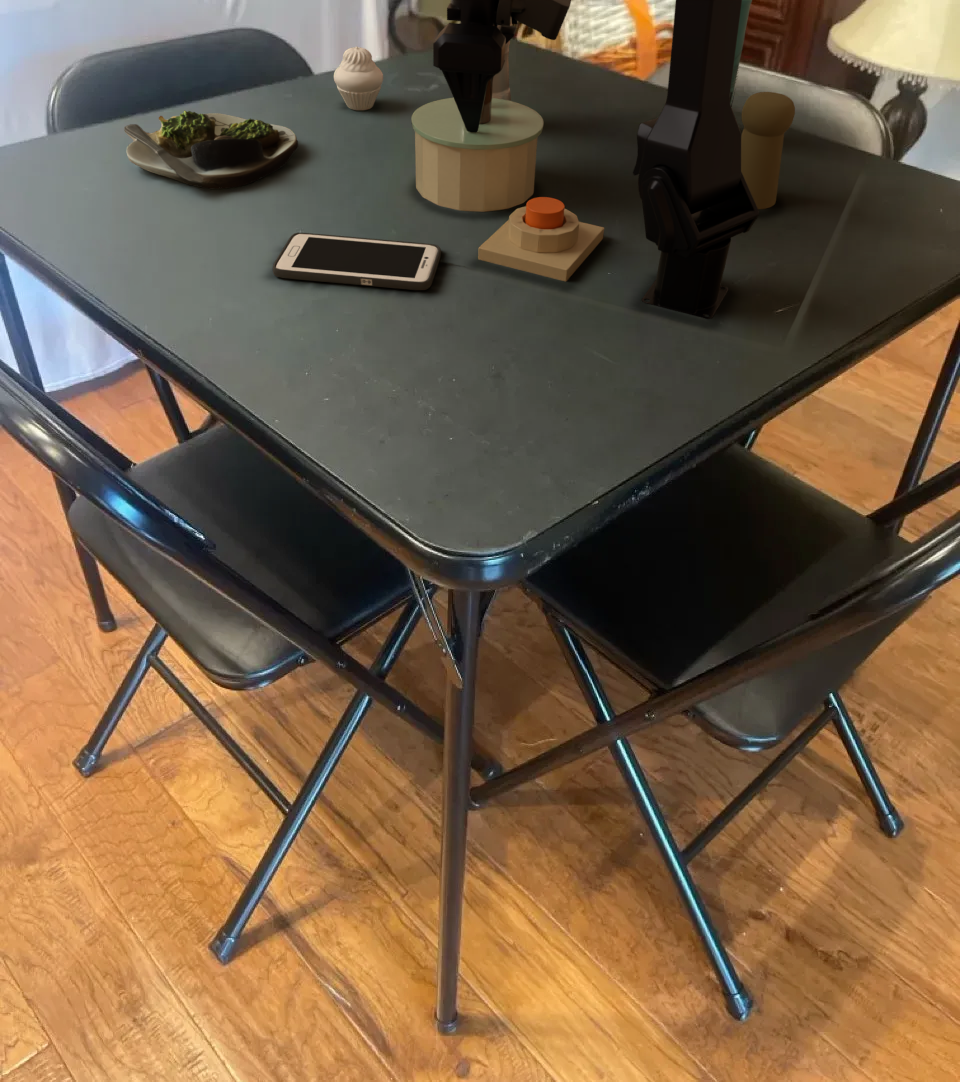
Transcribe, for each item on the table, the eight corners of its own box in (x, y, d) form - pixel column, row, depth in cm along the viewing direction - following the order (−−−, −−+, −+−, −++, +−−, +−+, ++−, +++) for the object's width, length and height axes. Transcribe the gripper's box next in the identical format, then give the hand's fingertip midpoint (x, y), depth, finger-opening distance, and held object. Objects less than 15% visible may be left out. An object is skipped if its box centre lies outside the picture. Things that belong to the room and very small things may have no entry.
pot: (503, 226, 94) (507, 156, 89) (395, 200, 97) (393, 132, 93) (550, 182, 102) (556, 116, 97) (449, 159, 106) (450, 95, 101)
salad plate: (78, 166, 101) (66, 122, 98) (185, 116, 113) (177, 76, 109) (220, 205, 95) (212, 160, 92) (317, 148, 107) (314, 106, 104)
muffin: (335, 97, 119) (331, 38, 114) (383, 97, 120) (381, 38, 115) (335, 115, 115) (331, 54, 110) (385, 114, 115) (382, 54, 110)
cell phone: (293, 240, 90) (292, 231, 89) (442, 254, 89) (442, 244, 88) (270, 278, 84) (269, 268, 83) (429, 293, 83) (429, 283, 82)
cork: (776, 217, 97) (804, 108, 90) (718, 210, 98) (741, 102, 90) (774, 194, 102) (801, 88, 94) (719, 188, 102) (741, 82, 95)
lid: (510, 166, 89) (513, 105, 85) (387, 139, 93) (385, 79, 89) (562, 121, 98) (567, 65, 94) (448, 99, 102) (448, 43, 98)
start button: (554, 234, 86) (556, 216, 84) (519, 226, 87) (520, 208, 86) (568, 219, 88) (570, 201, 87) (534, 211, 89) (535, 193, 88)
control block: (565, 287, 85) (569, 251, 83) (477, 264, 88) (478, 229, 85) (602, 243, 92) (606, 209, 89) (519, 223, 94) (522, 190, 92)
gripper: (564, -30, 76) (548, 160, 87) (576, -75, 90) (561, 94, 101) (431, -39, 77) (432, 150, 88) (463, -82, 91) (460, 86, 101)
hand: (477, 118), depth 94 cm, fingers open, 7 cm apart
